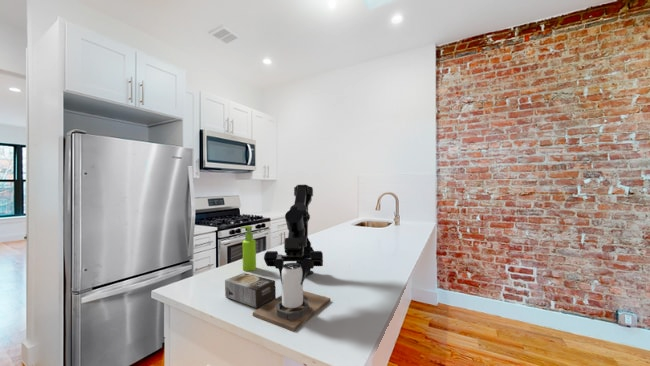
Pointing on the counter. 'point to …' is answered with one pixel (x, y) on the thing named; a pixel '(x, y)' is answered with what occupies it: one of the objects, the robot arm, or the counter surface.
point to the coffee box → (250, 289)
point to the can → (292, 285)
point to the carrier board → (291, 311)
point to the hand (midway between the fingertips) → (291, 284)
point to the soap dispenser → (249, 250)
